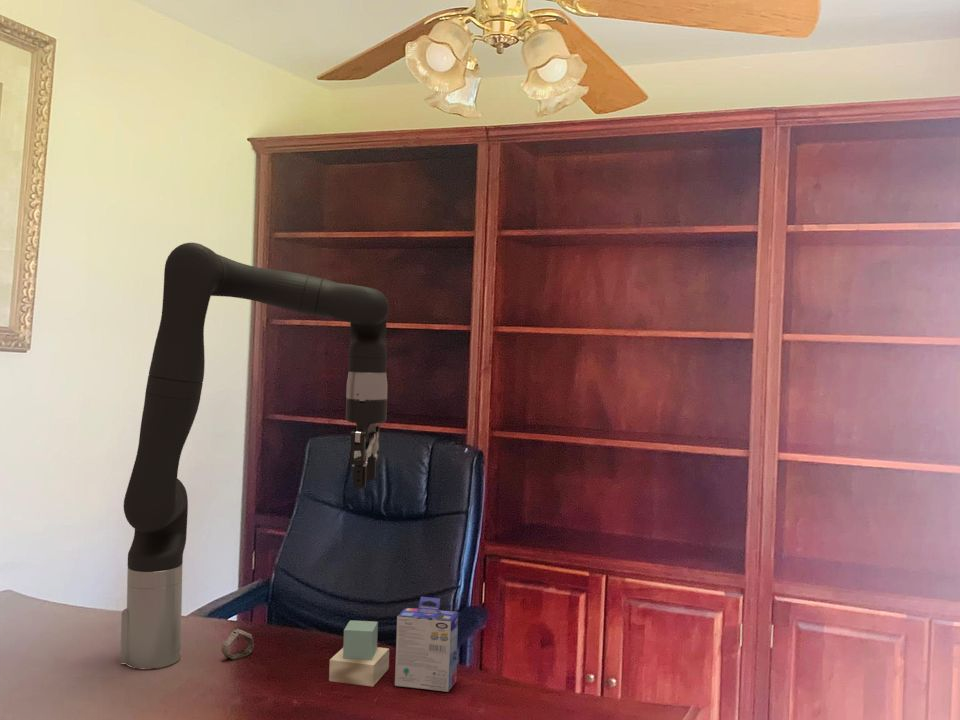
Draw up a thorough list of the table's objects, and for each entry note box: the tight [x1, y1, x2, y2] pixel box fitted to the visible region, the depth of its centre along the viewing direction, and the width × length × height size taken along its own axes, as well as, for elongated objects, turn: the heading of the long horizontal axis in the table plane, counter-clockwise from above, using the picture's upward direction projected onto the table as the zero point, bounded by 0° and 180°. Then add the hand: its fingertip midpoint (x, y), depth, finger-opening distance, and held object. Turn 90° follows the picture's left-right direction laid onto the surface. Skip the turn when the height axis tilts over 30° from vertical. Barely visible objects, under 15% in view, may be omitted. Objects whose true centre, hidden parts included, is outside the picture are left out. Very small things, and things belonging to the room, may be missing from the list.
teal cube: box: [342, 620, 379, 660], centre depth 144 cm, size 5×5×5 cm
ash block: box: [328, 646, 390, 687], centre depth 144 cm, size 8×8×4 cm
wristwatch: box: [221, 628, 255, 660], centre depth 151 cm, size 4×6×5 cm, turn 144°
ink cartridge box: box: [394, 596, 459, 693], centre depth 141 cm, size 10×6×14 cm, turn 78°
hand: (364, 483), depth 153 cm, fingers open, 8 cm apart
